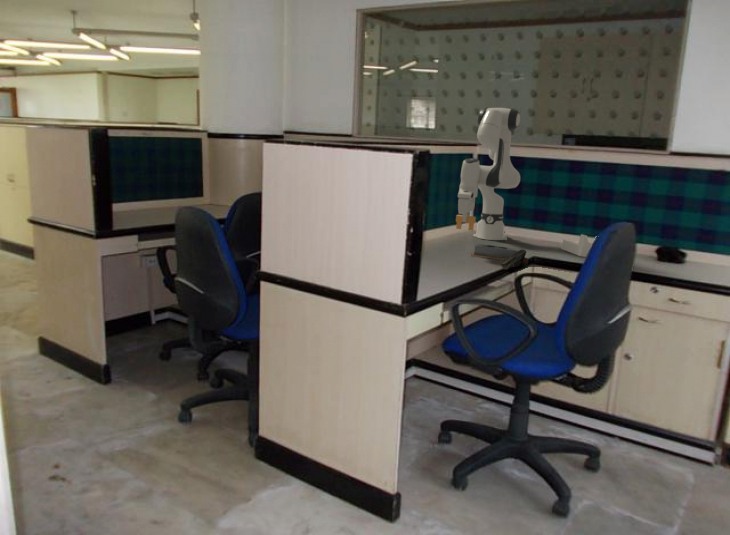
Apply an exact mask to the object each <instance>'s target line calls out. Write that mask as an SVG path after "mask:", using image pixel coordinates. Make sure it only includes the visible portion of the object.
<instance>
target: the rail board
mask: <svg viewBox="0 0 730 535" xmlns="http://www.w3.org/2000/svg"><path fill="white" fill-rule="evenodd" d="M519 250H520V248H518V247H517V248H516V247H509V246H499V245H493V244H482V243H477V244H474V251H473V252H472V253H471V254H470V257H471V256H472V257H477V258H478V257H479V258H484V259H491V260H492V259H494V260H498V261H499V260H501V261H505V260H507V259H508V258H509V257H511V256H512V255H514V254H515V253H517V252H518V251H519Z"/></svg>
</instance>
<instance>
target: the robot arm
mask: <svg viewBox="0 0 730 535" xmlns="http://www.w3.org/2000/svg"><path fill="white" fill-rule="evenodd" d="M476 119H477V125H478V129H477V133H476V134H477V135H476V137H477V141H478V142H479V144H481V145H482V147H485V149H488V157H489V158H490V159H491V161H493V164H492V165H482V164H480V160H479V159H477V158H473V157H471V158H465V159H464V160H463V161H462V165H461V171H460V184H459V188H458V189H459V190H458V193H457V198H458V201H457V202H458V204H457V210H458V215H462V217H463V220H462V221H463V222H466V221H467V216H471V215H470V214H471V212H473V210H475V204H476V203H475V202H476V198H478V191H480V193H481V196H482V212H481V214H480V220H478V222H477V225H476V233H474V234H472V236H473V237H474V238H478V239H483V240H488V241H508V237H507V234H506V231H505V223H504V222H503V220H504V202H505V201H504V197H502V196H501V195H499V194H497V193H496V192H495V189H506V190H507V189H509V190H510V189H515V188H517V187H518V186H519V184H520V182H521V174H520V172H519V171H518V170H517V169H516V168H515V167H514V165H513V163H512V161H511V155H510V154H511V145H512V143H511V141H512V132H513V131H515V130H516V129H517V128H518V127H519V125H520V122H521V113H520V112H519V110H518V109H515V108H507V107H482V108H480V110H479V111H478V114H477V118H476ZM463 222H462V223H463Z"/></svg>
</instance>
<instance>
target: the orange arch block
mask: <svg viewBox="0 0 730 535" xmlns="http://www.w3.org/2000/svg"><path fill="white" fill-rule="evenodd" d="M476 219H477V217H476V216H473V215H469V216H467V221H466V222H463V221H462V220H463V217H462V214H456V215H455V222H456V226H455V227H456V228H455V229H456V230H461V229H462V225H463V224H465V223H466V224H468V227H467V228H468V230H467V231H474V224H476ZM462 223H463V224H462Z"/></svg>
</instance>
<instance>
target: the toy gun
mask: <svg viewBox="0 0 730 535" xmlns="http://www.w3.org/2000/svg"><path fill="white" fill-rule="evenodd" d="M526 255H527V251H526V249H519V251H518V252H517V253H515V254H514V255H512V256H511V257H509V258H508V259H507V260H503V261H502V262H501V266H502V270H504V271H508V270H510V269H511V268H512V267H519V266H520V265H521V267H524V268H527V266H528V264H529V259H528V258H527V257H526Z"/></svg>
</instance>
